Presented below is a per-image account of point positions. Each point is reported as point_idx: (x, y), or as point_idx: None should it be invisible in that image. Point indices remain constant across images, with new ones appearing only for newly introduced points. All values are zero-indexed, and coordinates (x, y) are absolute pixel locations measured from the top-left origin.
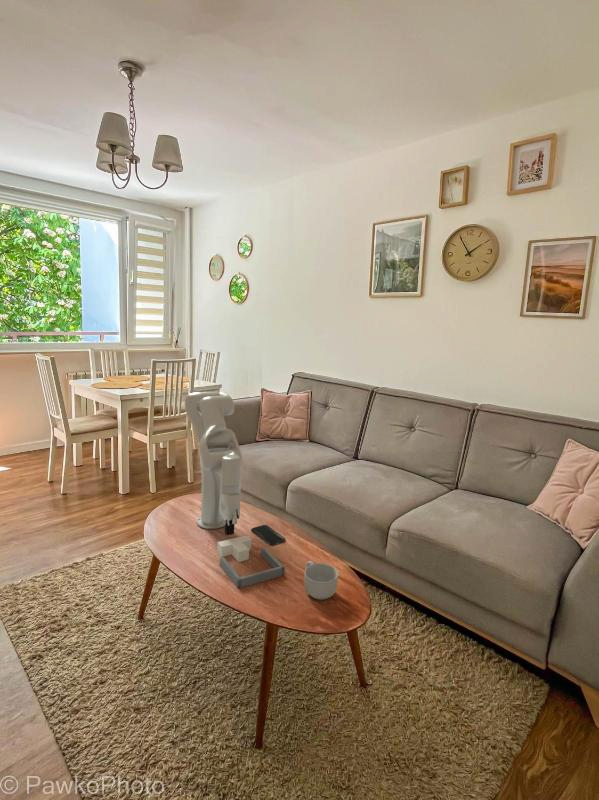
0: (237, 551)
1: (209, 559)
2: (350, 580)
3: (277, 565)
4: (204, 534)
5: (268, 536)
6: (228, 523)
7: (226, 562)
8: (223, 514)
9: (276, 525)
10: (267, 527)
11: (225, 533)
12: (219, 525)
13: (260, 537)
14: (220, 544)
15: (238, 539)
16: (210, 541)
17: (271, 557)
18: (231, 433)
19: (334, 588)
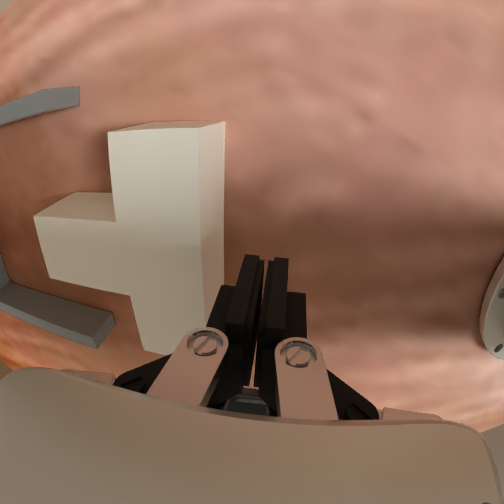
0: (50, 213)
1: (157, 41)
2: (13, 367)
3: (4, 297)
4: (494, 175)
5: (240, 412)
6: (174, 355)
7: (6, 114)
8: (187, 469)
9: None
10: None
11: (274, 259)
12: (493, 303)
13: (253, 393)
14: (145, 135)
15: (171, 298)
16: (396, 151)
17: (26, 313)
18: None
19: None
